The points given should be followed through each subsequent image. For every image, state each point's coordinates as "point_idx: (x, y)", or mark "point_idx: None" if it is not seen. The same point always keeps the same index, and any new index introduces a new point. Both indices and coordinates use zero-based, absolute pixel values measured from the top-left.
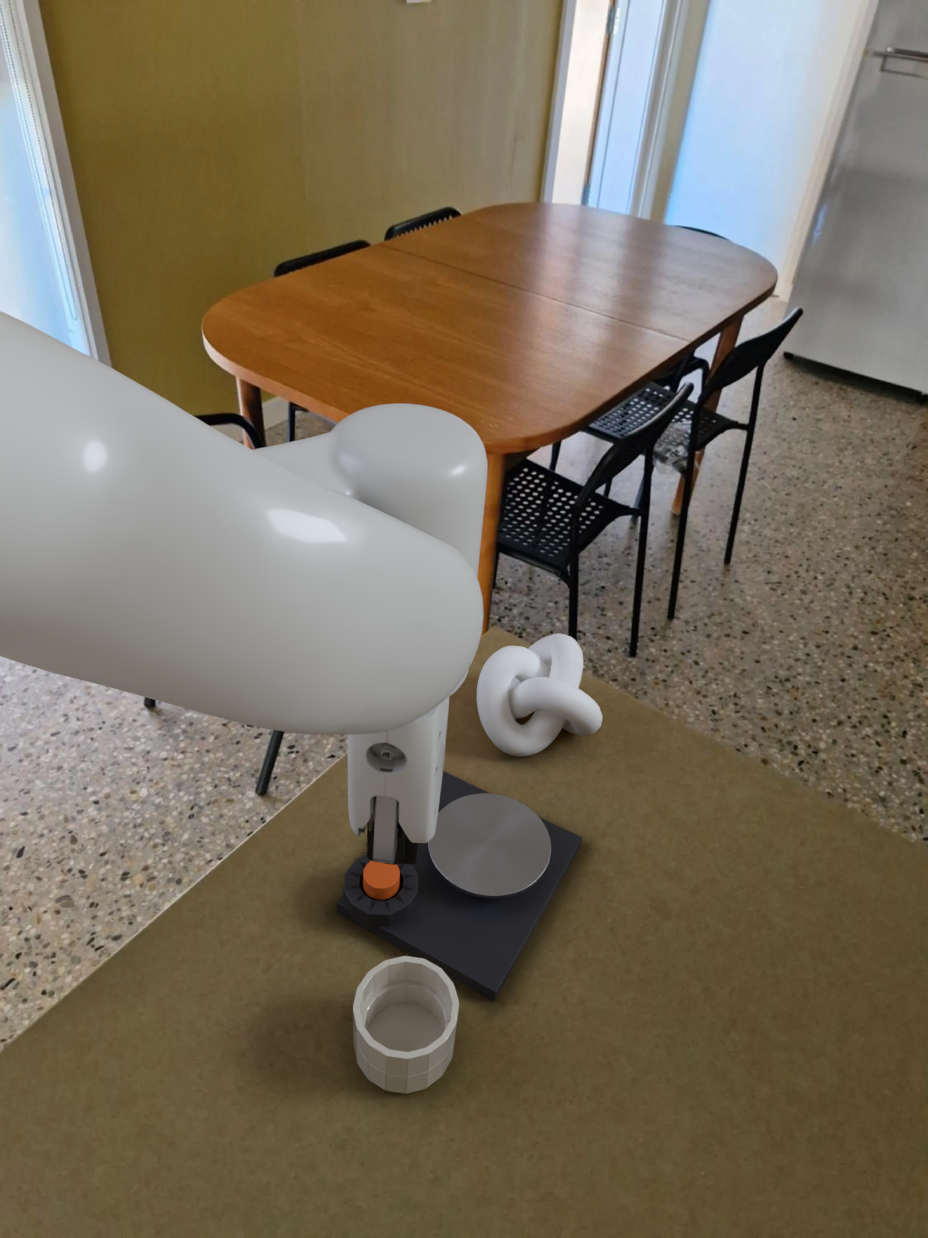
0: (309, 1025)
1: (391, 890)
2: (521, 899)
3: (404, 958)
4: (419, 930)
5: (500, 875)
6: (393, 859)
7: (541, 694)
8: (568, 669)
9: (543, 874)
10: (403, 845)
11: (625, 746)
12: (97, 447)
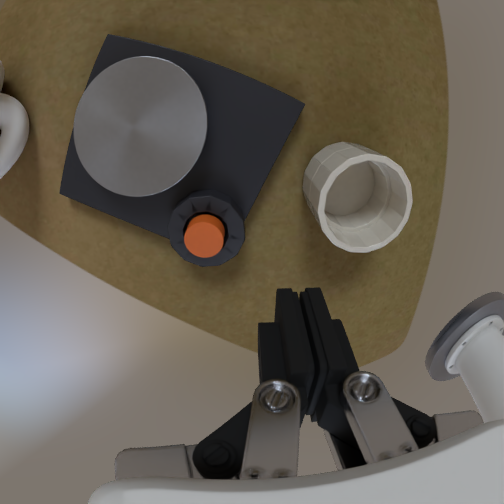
0: (325, 254)
1: (218, 225)
2: None
3: (321, 212)
4: (243, 182)
5: (177, 107)
6: (483, 422)
7: None
8: None
9: None
10: (352, 353)
11: (13, 35)
12: None
